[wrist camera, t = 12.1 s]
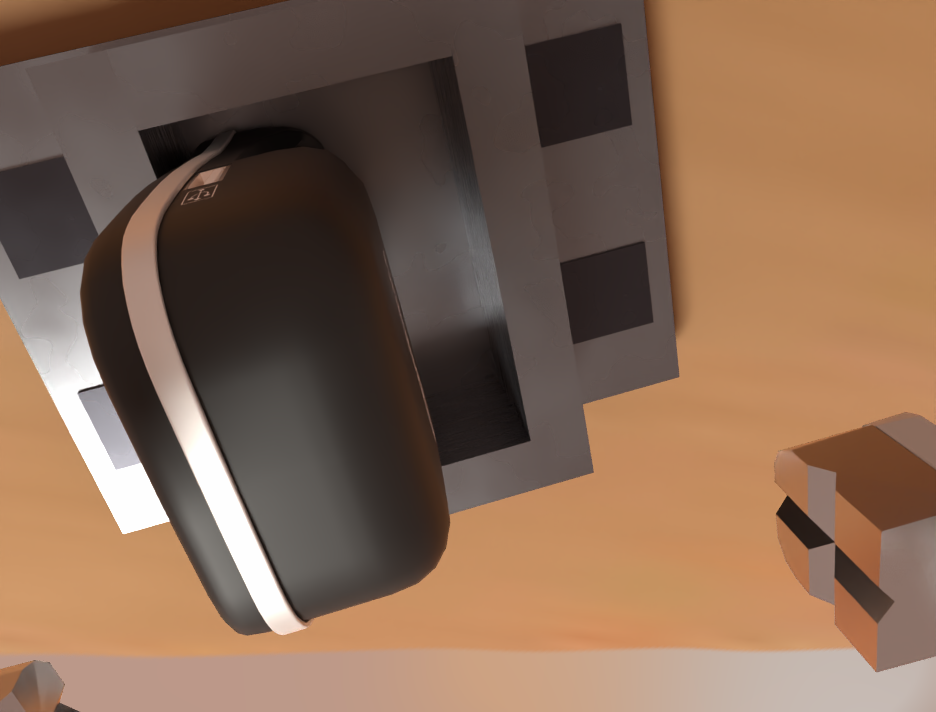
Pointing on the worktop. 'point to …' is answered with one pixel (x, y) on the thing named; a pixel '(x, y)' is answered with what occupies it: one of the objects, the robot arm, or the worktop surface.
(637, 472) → the worktop surface
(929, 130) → the worktop surface
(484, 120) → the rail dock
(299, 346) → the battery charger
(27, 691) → the robot arm
